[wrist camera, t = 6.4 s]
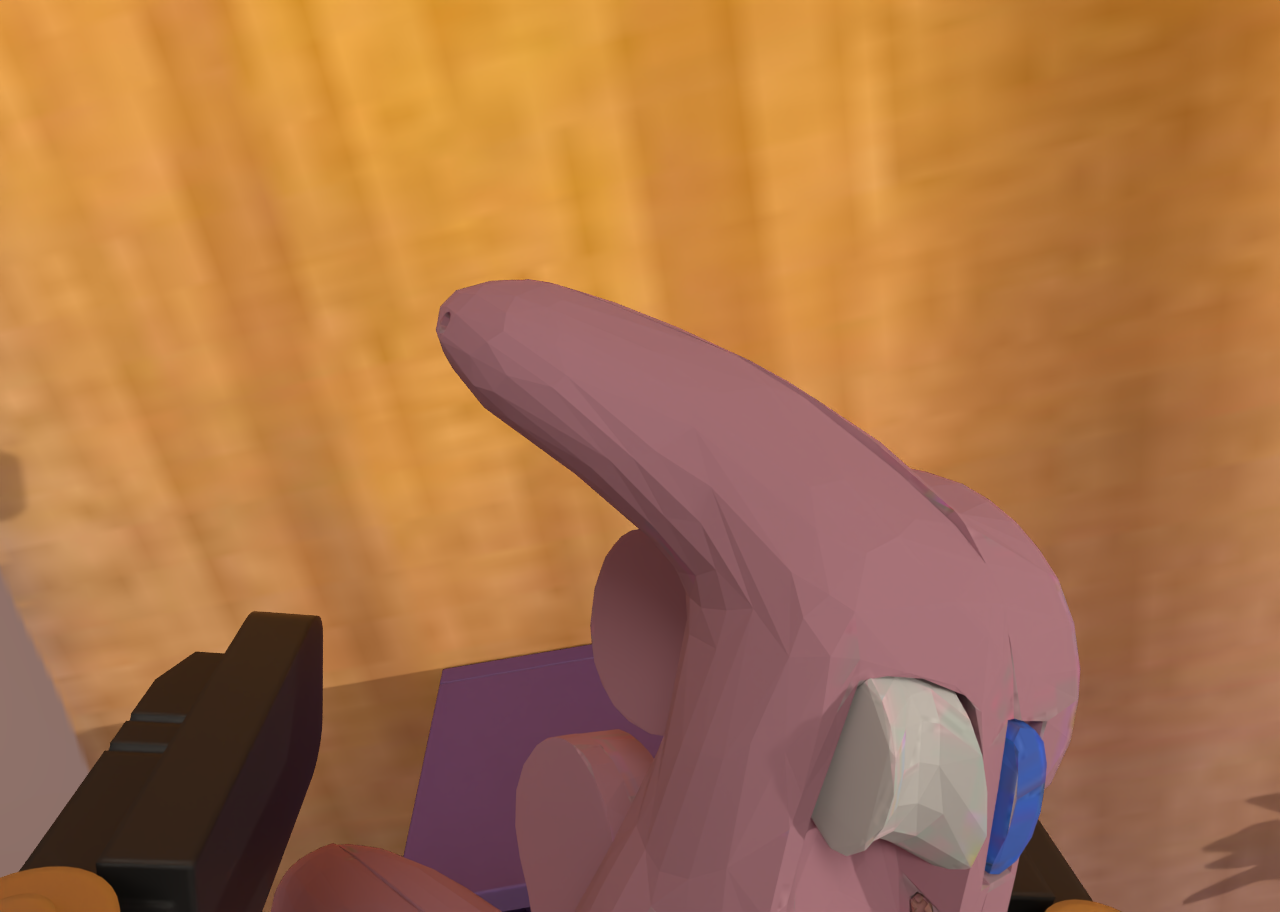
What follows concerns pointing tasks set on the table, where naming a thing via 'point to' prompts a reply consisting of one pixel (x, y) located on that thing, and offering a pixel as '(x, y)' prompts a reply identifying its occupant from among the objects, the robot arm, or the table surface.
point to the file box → (499, 761)
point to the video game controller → (756, 646)
